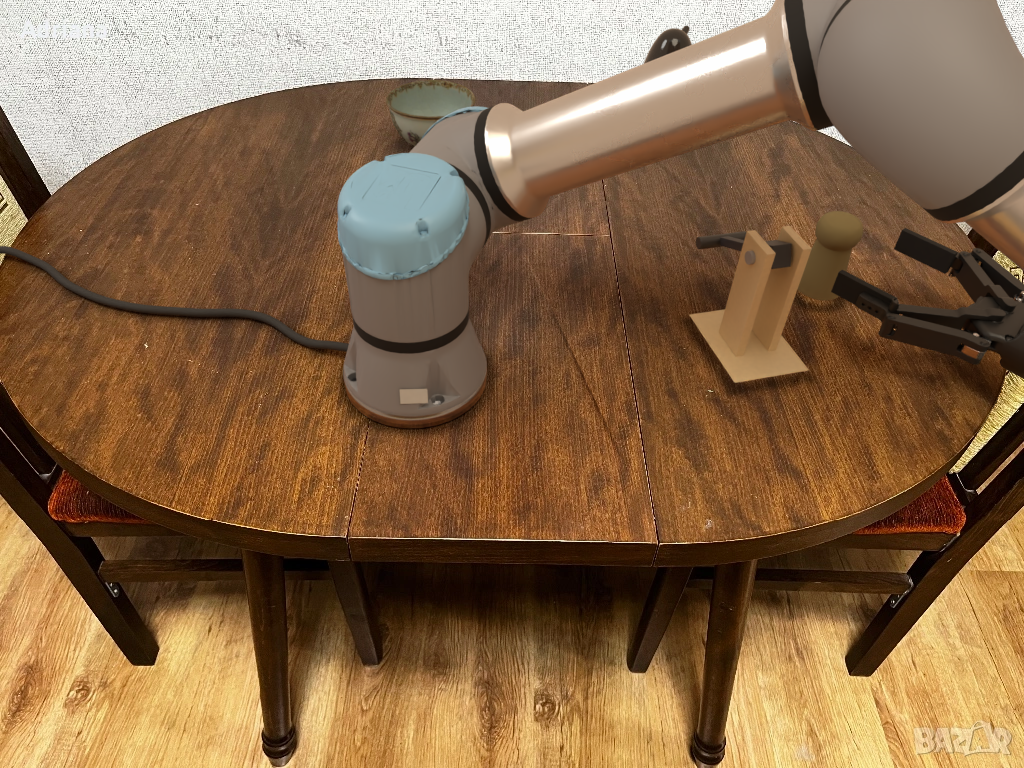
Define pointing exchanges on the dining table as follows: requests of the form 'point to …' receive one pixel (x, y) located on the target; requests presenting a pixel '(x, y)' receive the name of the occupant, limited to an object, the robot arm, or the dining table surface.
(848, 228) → the cork
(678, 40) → the brown white egg shape
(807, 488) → the dining table surface
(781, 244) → the lever
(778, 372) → the bracket
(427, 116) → the bowl
